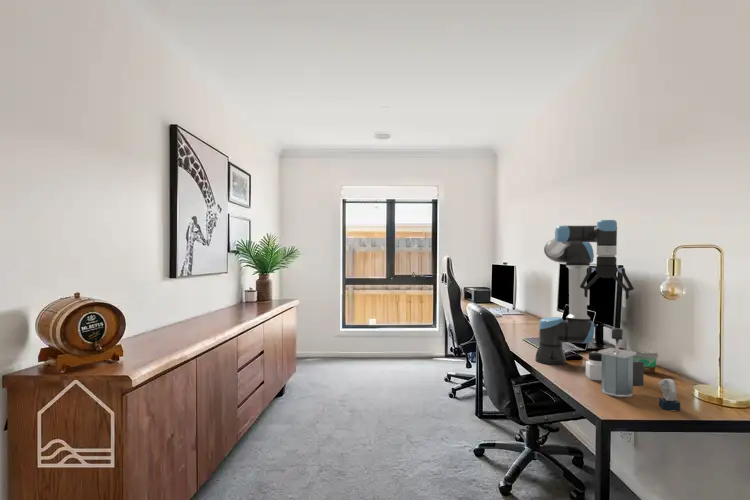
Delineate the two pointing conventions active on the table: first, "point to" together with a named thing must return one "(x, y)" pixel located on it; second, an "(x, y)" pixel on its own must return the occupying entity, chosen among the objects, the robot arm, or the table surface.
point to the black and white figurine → (594, 366)
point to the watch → (669, 395)
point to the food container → (646, 361)
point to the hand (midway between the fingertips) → (605, 305)
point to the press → (620, 372)
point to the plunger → (617, 337)
